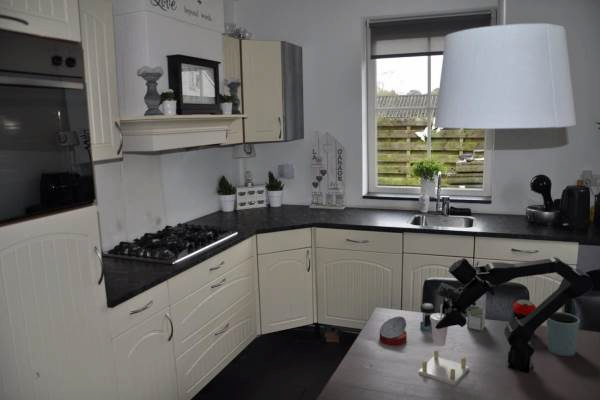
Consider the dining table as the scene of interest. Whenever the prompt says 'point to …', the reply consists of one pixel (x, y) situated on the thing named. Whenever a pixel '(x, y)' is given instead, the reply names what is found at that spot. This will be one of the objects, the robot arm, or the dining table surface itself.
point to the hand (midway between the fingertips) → (435, 323)
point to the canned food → (394, 332)
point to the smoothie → (438, 334)
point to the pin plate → (444, 369)
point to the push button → (426, 316)
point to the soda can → (523, 309)
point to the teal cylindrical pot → (562, 333)
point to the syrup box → (477, 314)
